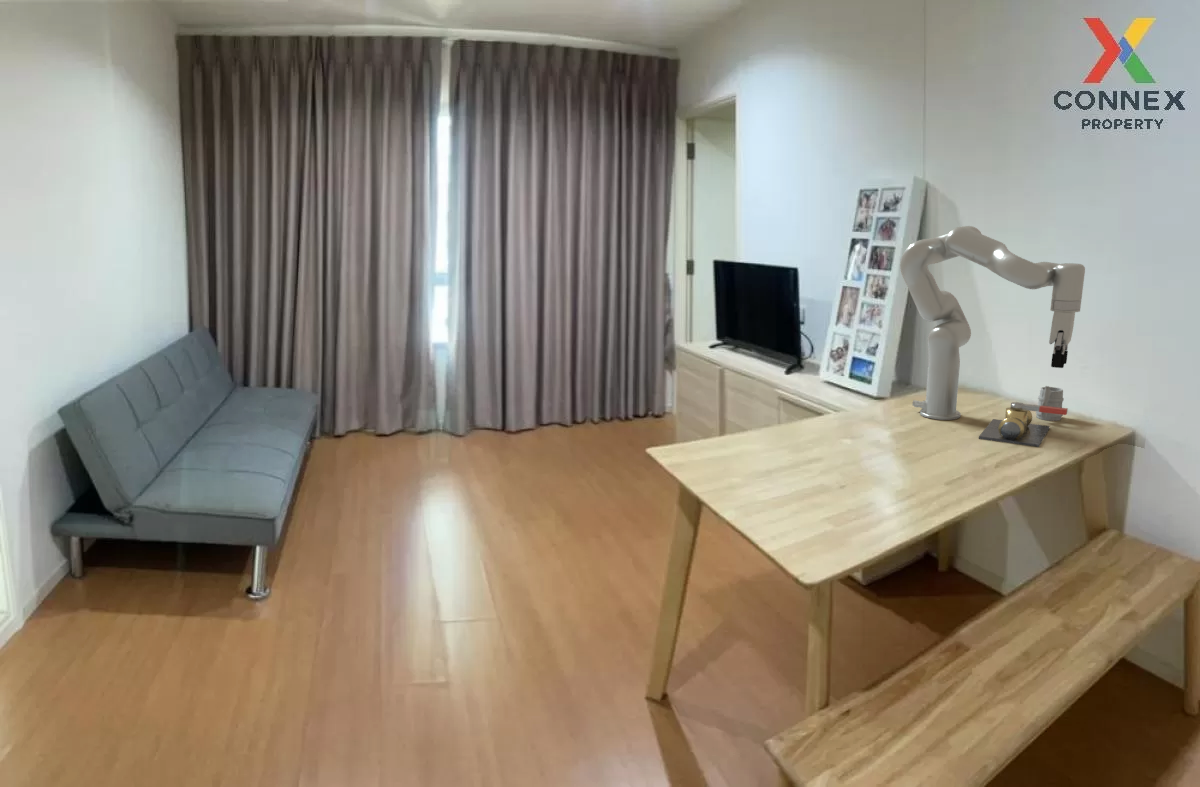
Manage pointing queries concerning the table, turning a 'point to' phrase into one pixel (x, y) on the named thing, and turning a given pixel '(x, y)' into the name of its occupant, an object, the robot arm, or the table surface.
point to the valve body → (1015, 429)
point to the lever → (1038, 408)
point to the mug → (1050, 402)
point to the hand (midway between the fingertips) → (1058, 364)
